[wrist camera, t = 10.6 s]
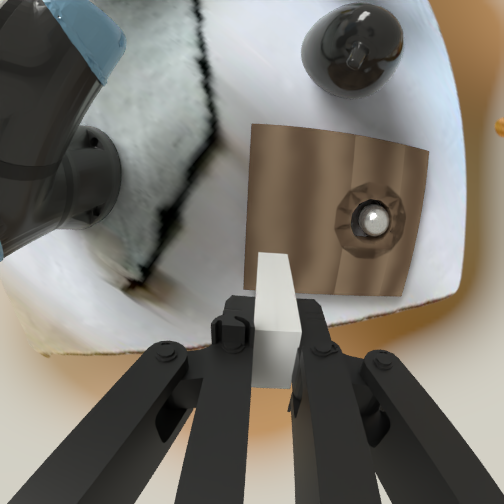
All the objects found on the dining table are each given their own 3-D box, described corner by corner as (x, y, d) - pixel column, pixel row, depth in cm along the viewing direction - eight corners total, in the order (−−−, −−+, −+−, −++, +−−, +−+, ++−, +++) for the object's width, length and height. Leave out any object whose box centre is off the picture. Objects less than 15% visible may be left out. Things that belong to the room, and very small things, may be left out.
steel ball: (355, 228, 35) (357, 237, 31) (360, 199, 33) (362, 205, 30) (383, 233, 34) (388, 243, 30) (388, 204, 32) (394, 211, 29)
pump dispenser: (281, 77, 28) (292, 26, 14) (319, 21, 25) (347, -42, 11) (353, 120, 29) (412, 104, 15) (386, 63, 26) (448, 26, 12)
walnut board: (245, 279, 38) (243, 289, 35) (253, 126, 31) (251, 123, 28) (393, 286, 37) (401, 296, 34) (417, 150, 30) (429, 151, 27)
